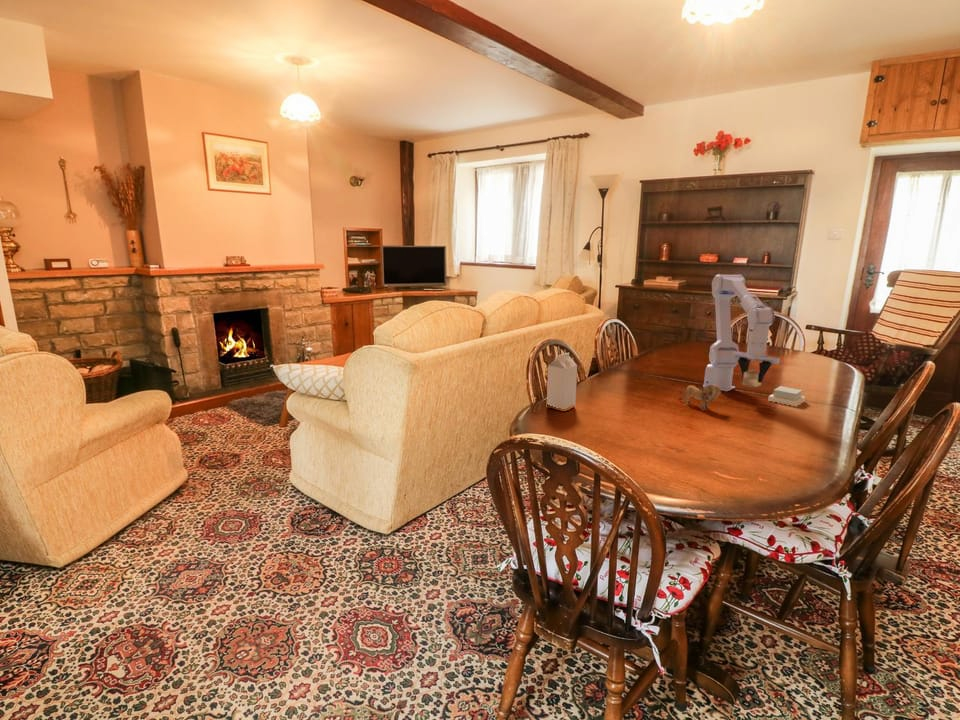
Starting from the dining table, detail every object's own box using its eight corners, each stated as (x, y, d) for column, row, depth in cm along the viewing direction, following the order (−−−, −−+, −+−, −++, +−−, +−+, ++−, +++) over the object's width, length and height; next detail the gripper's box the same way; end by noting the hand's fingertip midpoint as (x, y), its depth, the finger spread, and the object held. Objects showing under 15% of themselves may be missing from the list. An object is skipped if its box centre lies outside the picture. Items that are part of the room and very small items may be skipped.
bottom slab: (767, 402, 178) (768, 396, 178) (776, 397, 184) (777, 391, 183) (795, 408, 172) (797, 402, 171) (804, 403, 178) (805, 396, 177)
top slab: (773, 396, 177) (774, 389, 177) (779, 392, 182) (780, 386, 181) (795, 400, 172) (796, 394, 172) (801, 396, 177) (802, 390, 176)
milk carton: (546, 408, 169) (548, 354, 165) (558, 403, 174) (560, 350, 170) (563, 413, 164) (566, 357, 160) (575, 408, 169) (578, 353, 165)
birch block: (742, 384, 174) (744, 372, 173) (747, 382, 177) (749, 370, 176) (756, 387, 170) (757, 374, 169) (761, 384, 173) (762, 372, 172)
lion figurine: (721, 410, 167) (724, 385, 165) (712, 413, 164) (715, 387, 162) (682, 399, 179) (684, 375, 177) (673, 402, 176) (675, 378, 174)
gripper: (730, 340, 173) (726, 378, 176) (776, 347, 162) (770, 386, 165) (738, 338, 177) (734, 375, 180) (783, 344, 167) (778, 383, 170)
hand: (752, 380), depth 173 cm, fingers closed on birch block, 4 cm apart
